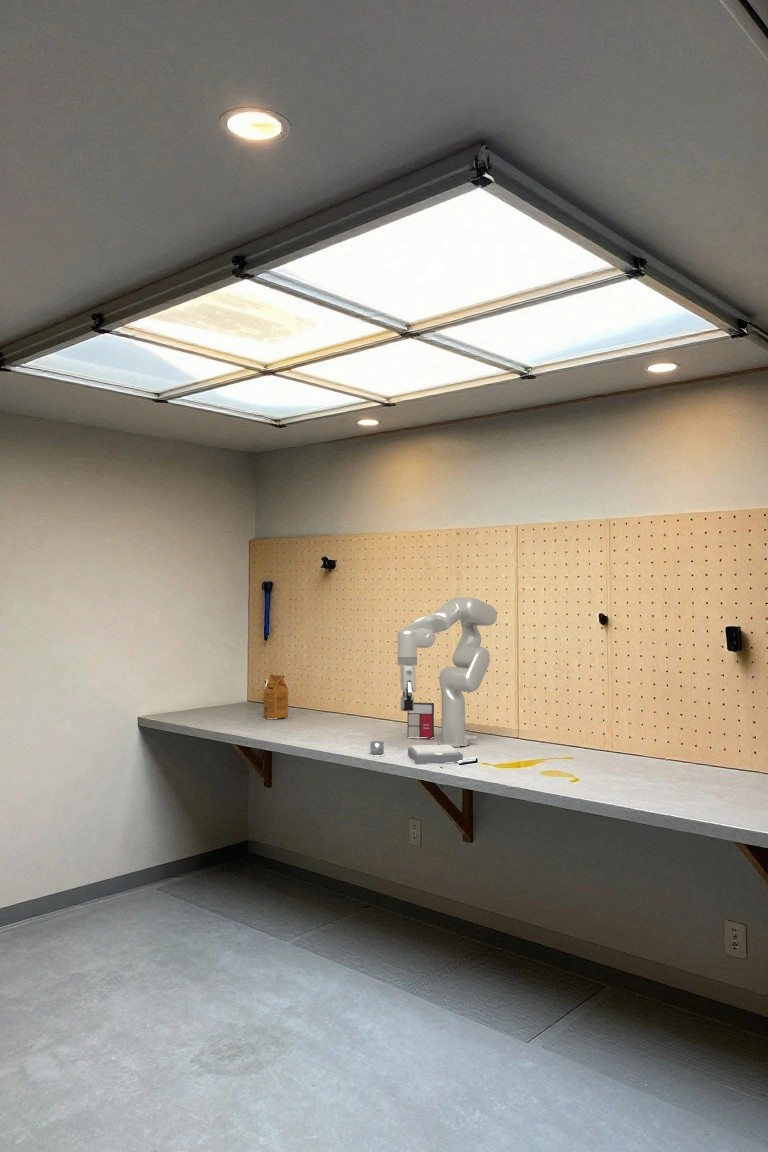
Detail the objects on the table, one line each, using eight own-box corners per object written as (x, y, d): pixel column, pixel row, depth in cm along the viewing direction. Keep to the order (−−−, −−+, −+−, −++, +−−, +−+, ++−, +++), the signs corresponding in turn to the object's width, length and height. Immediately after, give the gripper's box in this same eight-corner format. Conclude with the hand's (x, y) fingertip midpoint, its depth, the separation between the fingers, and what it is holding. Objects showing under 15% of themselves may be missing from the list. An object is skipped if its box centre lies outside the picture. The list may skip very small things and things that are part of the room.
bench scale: (451, 754, 314) (451, 744, 314) (462, 763, 297) (462, 752, 298) (408, 755, 312) (408, 745, 312) (416, 764, 295) (416, 753, 295)
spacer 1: (382, 754, 315) (382, 740, 315) (384, 756, 310) (384, 743, 310) (369, 754, 314) (369, 741, 315) (371, 756, 310) (371, 743, 310)
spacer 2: (412, 709, 318) (412, 696, 318) (414, 710, 313) (414, 697, 313) (399, 709, 318) (399, 696, 318) (401, 711, 313) (401, 697, 313)
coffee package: (277, 716, 421) (277, 672, 421) (290, 718, 411) (290, 674, 412) (260, 717, 414) (260, 673, 415) (273, 720, 405) (273, 675, 405)
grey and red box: (407, 738, 350) (407, 703, 351) (408, 737, 355) (408, 702, 355) (432, 739, 348) (432, 704, 349) (434, 738, 353) (434, 702, 353)
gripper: (420, 663, 308) (420, 712, 307) (413, 660, 325) (413, 706, 324) (400, 663, 307) (400, 712, 306) (394, 660, 324) (395, 706, 323)
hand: (407, 708), depth 315 cm, fingers closed on spacer 2, 5 cm apart
